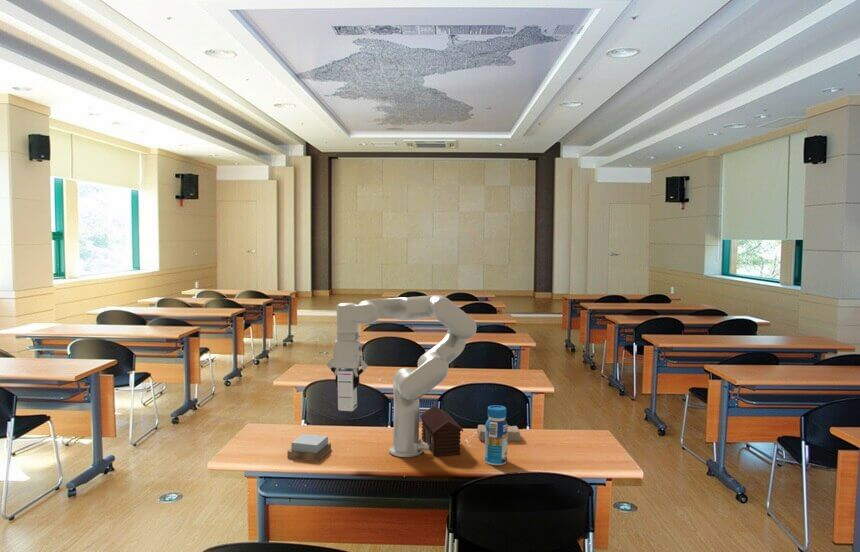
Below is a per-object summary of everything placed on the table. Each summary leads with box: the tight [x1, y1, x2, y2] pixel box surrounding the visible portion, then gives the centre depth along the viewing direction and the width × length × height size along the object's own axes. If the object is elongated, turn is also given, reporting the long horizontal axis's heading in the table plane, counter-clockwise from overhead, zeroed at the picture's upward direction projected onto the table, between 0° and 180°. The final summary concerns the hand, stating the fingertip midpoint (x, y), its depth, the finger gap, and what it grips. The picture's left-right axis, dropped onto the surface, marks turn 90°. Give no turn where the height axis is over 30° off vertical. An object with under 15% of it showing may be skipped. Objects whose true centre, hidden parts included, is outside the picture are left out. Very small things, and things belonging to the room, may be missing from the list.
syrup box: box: [337, 368, 358, 412], centre depth 224 cm, size 6×6×14 cm
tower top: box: [290, 433, 329, 453], centre depth 227 cm, size 10×10×3 cm
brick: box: [477, 424, 521, 442], centre depth 248 cm, size 17×8×5 cm, turn 92°
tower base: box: [287, 442, 332, 462], centre depth 228 cm, size 12×12×3 cm
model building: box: [419, 401, 464, 457], centre depth 236 cm, size 21×12×15 cm, turn 15°
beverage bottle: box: [484, 404, 509, 466], centre depth 222 cm, size 8×8×20 cm
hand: (347, 385), depth 224 cm, fingers closed on syrup box, 5 cm apart
